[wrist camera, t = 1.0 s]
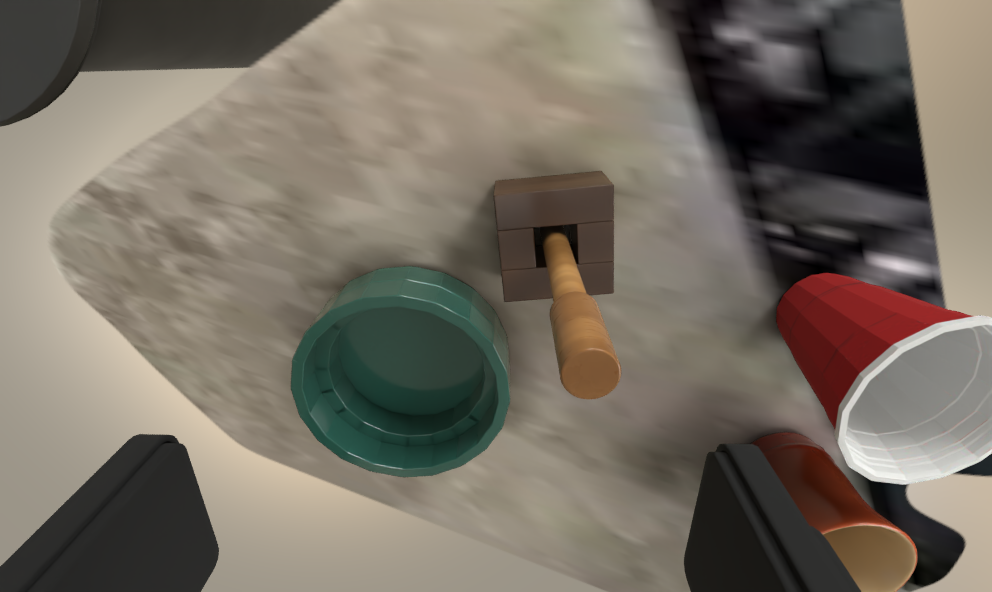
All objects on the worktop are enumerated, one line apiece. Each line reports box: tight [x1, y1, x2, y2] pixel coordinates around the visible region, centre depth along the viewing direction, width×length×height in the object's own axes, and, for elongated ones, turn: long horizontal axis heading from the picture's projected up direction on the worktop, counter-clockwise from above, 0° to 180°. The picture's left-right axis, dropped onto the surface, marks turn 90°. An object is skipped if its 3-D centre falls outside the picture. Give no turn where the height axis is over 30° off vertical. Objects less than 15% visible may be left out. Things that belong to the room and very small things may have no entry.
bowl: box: [291, 266, 510, 477], centre depth 36 cm, size 15×15×6 cm
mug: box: [751, 432, 917, 592], centre depth 38 cm, size 12×9×10 cm
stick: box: [540, 225, 621, 399], centre depth 26 cm, size 2×2×18 cm
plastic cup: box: [776, 273, 992, 485], centre depth 31 cm, size 11×11×12 cm
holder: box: [494, 171, 614, 302], centre depth 33 cm, size 7×7×4 cm
